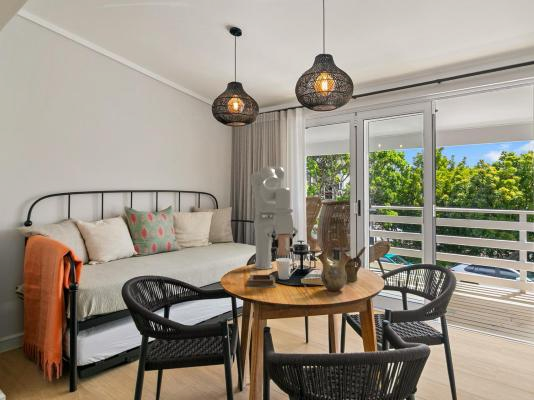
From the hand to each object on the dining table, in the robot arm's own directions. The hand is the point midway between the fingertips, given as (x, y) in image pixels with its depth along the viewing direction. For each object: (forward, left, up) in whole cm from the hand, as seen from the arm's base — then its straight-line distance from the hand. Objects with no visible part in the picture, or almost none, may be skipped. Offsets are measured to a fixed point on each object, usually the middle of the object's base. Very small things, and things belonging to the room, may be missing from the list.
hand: (283, 246), depth 169 cm
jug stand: (0, -11, -20) cm, 23 cm away
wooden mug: (-8, +38, -20) cm, 43 cm away
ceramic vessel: (+10, +24, -20) cm, 33 cm away
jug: (+1, 0, -4) cm, 4 cm away
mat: (0, +5, -20) cm, 20 cm away
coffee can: (-25, +36, -20) cm, 48 cm away
